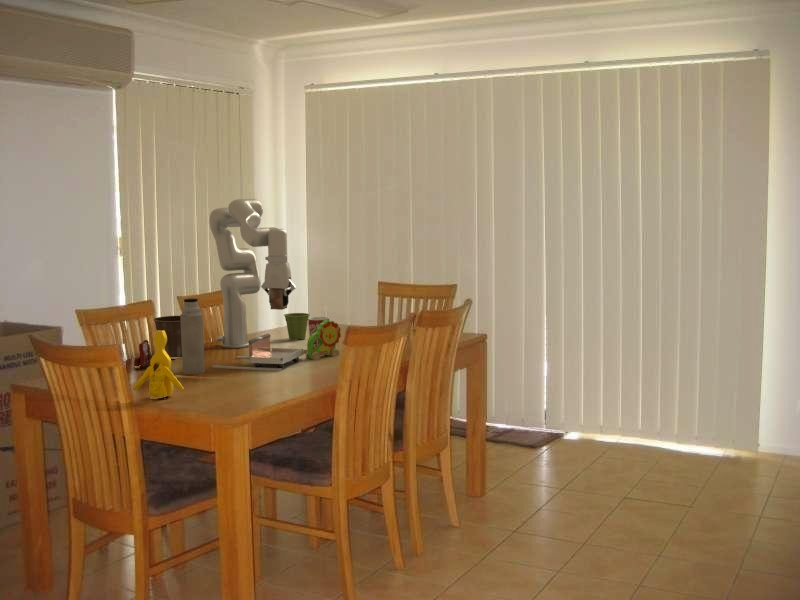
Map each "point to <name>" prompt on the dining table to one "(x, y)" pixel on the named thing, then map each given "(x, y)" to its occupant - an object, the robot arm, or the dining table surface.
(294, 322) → the plant pot
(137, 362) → the toy fire truck
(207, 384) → the dining table surface
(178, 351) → the plant pot
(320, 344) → the toy lion
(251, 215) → the robot arm
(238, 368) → the grey flat rectangular piece
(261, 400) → the dining table surface
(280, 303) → the walnut block
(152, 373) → the figure statuette
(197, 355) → the thermos bottle
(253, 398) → the dining table surface
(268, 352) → the grey l-shaped piece
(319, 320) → the mug
